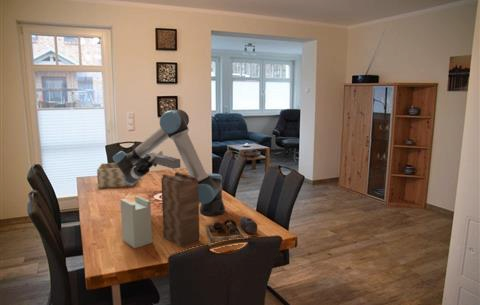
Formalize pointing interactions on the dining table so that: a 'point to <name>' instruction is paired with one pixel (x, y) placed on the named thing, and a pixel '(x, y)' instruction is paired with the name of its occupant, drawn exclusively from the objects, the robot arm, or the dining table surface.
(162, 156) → the bar
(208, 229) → the coaster tray
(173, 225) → the walnut stand
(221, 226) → the pottery mug
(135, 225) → the slotted cradle
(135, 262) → the dining table surface
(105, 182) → the zigzag patterned box
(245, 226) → the perforated stone tool
